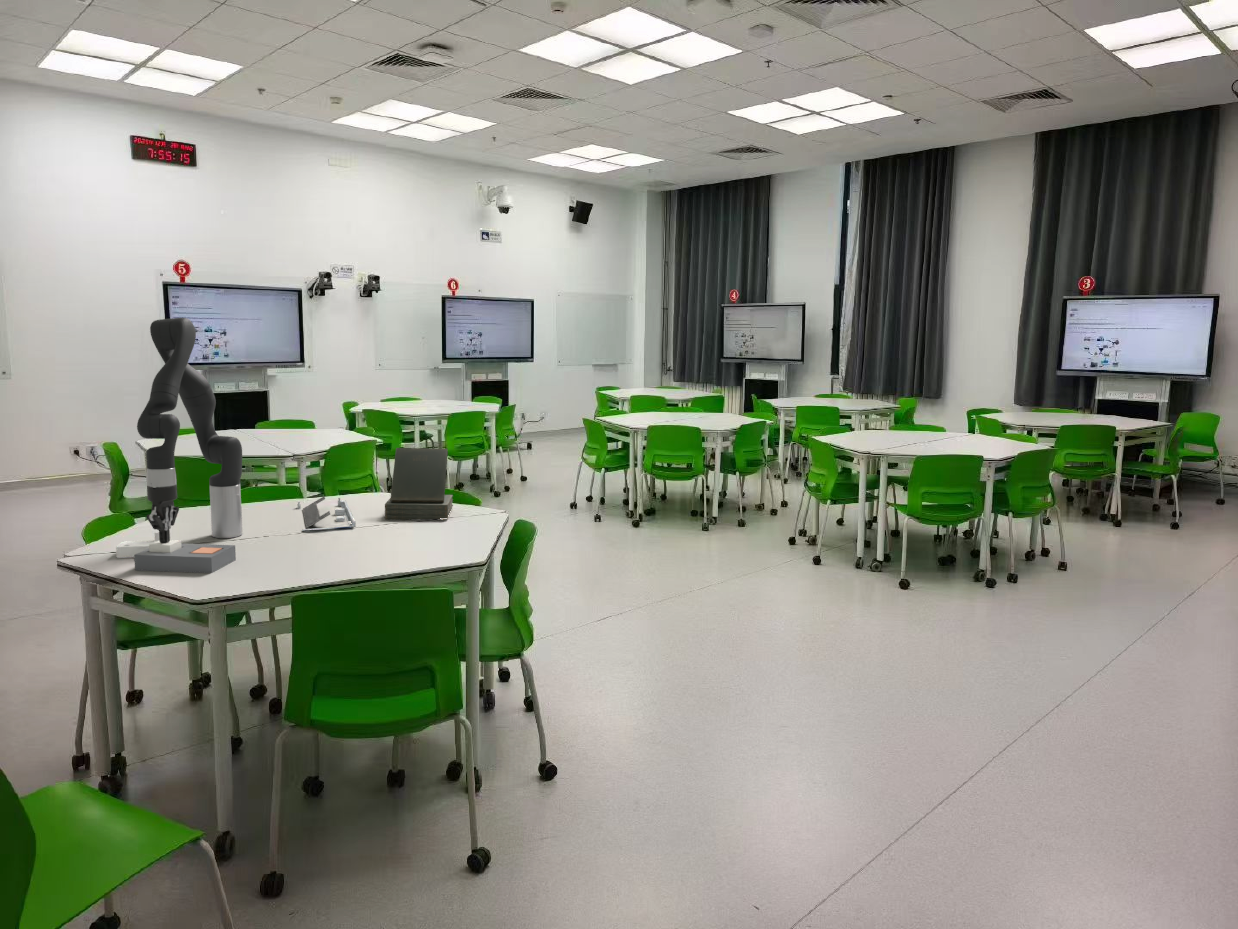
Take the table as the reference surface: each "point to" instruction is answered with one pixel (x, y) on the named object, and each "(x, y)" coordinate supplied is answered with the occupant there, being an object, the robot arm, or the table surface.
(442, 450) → the upright slab on base
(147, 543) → the bracket
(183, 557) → the key panel
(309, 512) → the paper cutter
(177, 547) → the off-white key
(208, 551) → the terracotta key
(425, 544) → the table surface
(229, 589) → the table surface
